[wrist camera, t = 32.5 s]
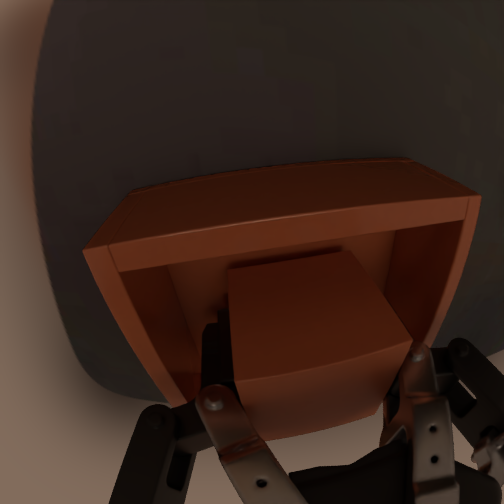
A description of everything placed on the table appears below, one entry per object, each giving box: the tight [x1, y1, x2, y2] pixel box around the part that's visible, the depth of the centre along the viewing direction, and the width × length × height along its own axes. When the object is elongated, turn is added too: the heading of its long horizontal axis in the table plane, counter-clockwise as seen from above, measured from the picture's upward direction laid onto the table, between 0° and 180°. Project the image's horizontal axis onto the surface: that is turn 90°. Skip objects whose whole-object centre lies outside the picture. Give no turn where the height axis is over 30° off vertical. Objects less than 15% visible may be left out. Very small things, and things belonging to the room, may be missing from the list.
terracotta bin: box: [83, 158, 482, 408], centre depth 11 cm, size 12×12×5 cm
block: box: [227, 250, 413, 441], centre depth 10 cm, size 5×5×5 cm
